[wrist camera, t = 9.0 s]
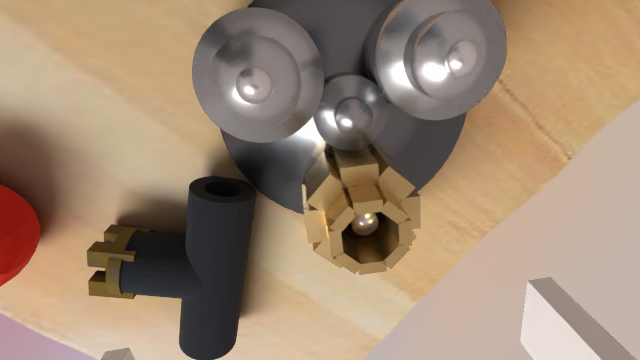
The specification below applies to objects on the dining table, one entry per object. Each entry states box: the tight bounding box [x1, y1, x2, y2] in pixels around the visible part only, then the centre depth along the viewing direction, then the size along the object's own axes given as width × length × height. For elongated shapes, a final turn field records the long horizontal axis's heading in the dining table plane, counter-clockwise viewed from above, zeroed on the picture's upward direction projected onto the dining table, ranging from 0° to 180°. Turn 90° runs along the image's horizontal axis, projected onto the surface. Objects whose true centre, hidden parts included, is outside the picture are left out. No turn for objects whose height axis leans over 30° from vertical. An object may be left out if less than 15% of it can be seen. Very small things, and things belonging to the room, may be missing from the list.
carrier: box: [192, 0, 507, 235], centre depth 24 cm, size 19×19×9 cm
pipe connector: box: [87, 176, 256, 360], centre depth 30 cm, size 12×5×15 cm
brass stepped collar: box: [302, 146, 420, 275], centre depth 26 cm, size 8×8×8 cm
